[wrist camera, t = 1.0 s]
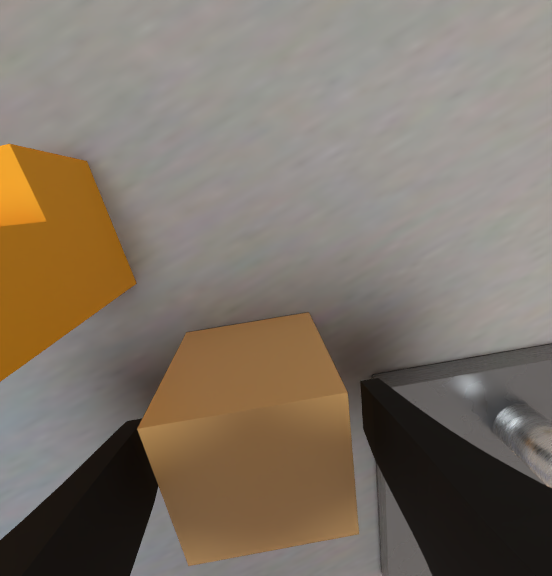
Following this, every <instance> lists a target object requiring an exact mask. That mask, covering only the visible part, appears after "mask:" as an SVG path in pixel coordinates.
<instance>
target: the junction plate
mask: <svg viewBox="0 0 552 576" xmlns="http://www.w3.org/2000/svg"><path fill="white" fill-rule="evenodd" d="M372 378H373V379H375V378H379V379H380V380H382V381H383V382H384V383H386V384H387V385H388V386H390V387H391V388H392V389H394V390H395V391H396V392H398V393H399V394H400V395H402V396H403V397H404V398H406V399H407V400H408V401H410V402H411V403H412V404H414V405H415V406H416V407H418V408H419V409H421V410H422V411H423V412H425V413H426V414H428V415H429V416H430V417H432V418H433V419H435V420H436V421H438V422H439V423H440V424H442V425H443V426H445V427H446V428H448V429H449V430H451V431H452V432H454V433H456V434H457V435H459V436H460V437H462V438H463V439H465V440H467V441H468V442H470V443H471V444H473V445H475V446H476V447H478V448H479V449H481V450H483V451H484V452H486V453H488V454H490V455H491V456H493V457H495V458H497V459H498V460H500V461H502V462H504V463H505V464H507V465H509V466H511V467H513V468H514V469H516V470H518V471H520V472H522V473H523V474H525V475H527V476H529V477H531V478H533V479H535V480H537V481H539V482H540V483H542V484H544V485H546V486H548V487H550V488H552V344H549V345H543V346H537V347H531V348H525V349H520V350H514V351H508V352H502V353H496V354H491V355H485V356H479V357H473V358H467V359H462V360H456V361H450V362H444V363H438V364H433V365H427V366H421V367H415V368H409V369H403V370H398V371H392V372H386V373H380V374H374V375H372ZM377 485H378V506H379V527H380V548H381V570H382V575H383V576H432V574H431V572H430V570H429V567H428V565H427V563H426V560H425V558H424V556H423V554H422V552H421V550H420V548H419V545H418V543H417V541H416V539H415V537H414V535H413V533H412V531H411V529H410V527H409V526H408V524H407V522H406V520H405V518H404V516H403V514H402V512H401V510H400V508H399V506H398V504H397V502H396V500H395V498H394V496H393V494H392V492H391V490H390V488H389V486H388V485H387V483H386V481H385V479H384V477H383V475H382V473H381V471H380V469H379V467H378V465H377Z"/></svg>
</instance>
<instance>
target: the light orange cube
mask: <svg viewBox="0 0 552 576" xmlns="http://www.w3.org/2000/svg"><path fill="white" fill-rule="evenodd" d="M137 430H138V433H139V435H140V438H141V441H142V443H143V446H144V449H145V451H146V454H147V457H148V459H149V462H150V465H151V467H152V470H153V472H154V475H155V478H156V480H157V483H158V486H159V488H160V491H161V494H162V496H163V499H164V502H165V504H166V507H167V510H168V512H169V515H170V518H171V520H172V523H173V526H174V528H175V531H176V534H177V536H178V539H179V542H180V544H181V547H182V550H183V552H184V555H185V558H186V560H187V563H188V566H191V565H197V564H202V563H207V562H213V561H218V560H223V559H229V558H234V557H239V556H245V555H250V554H256V553H261V552H266V551H272V550H277V549H282V548H288V547H293V546H298V545H304V544H309V543H314V542H320V541H325V540H330V539H336V538H341V537H346V536H352V535H357V534H359V527H358V515H357V502H356V490H355V478H354V465H353V453H352V440H351V428H350V416H349V403H348V392H347V390H346V388H345V386H344V384H343V382H342V380H341V378H340V376H339V374H338V372H337V370H336V367H335V365H334V363H333V361H332V359H331V357H330V355H329V353H328V351H327V349H326V347H325V345H324V343H323V341H322V339H321V337H320V334H319V332H318V330H317V328H316V326H315V324H314V322H313V320H312V318H311V316H310V314H309V312H308V313H302V314H296V315H289V316H283V317H277V318H271V319H265V320H259V321H253V322H247V323H241V324H235V325H229V326H223V327H217V328H211V329H205V330H199V331H193V332H187V333H186V334H185V336H184V338H183V340H182V342H181V344H180V346H179V348H178V350H177V352H176V354H175V356H174V358H173V360H172V362H171V364H170V366H169V368H168V370H167V372H166V374H165V375H164V377H163V379H162V381H161V383H160V385H159V387H158V389H157V391H156V393H155V395H154V397H153V399H152V401H151V403H150V405H149V407H148V409H147V411H146V413H145V415H144V417H143V419H142V421H141V422H140V424H139V426H138V428H137Z"/></svg>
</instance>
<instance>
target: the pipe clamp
mask: <svg viewBox="0 0 552 576" xmlns="http://www.w3.org/2000/svg"><path fill="white" fill-rule="evenodd" d="M135 284H137V283H136V281H135V278H134V276H133V273H132V271H131V268H130V266H129V264H128V261H127V259H126V256H125V254H124V251H123V249H122V246H121V244H120V241H119V239H118V237H117V234H116V232H115V229H114V227H113V224H112V222H111V219H110V217H109V214H108V212H107V210H106V207H105V205H104V202H103V200H102V197H101V195H100V192H99V190H98V187H97V185H96V183H95V180H94V178H93V175H92V173H91V170H90V168H89V165H88V163H87V161H84V160H79V159H75V158H71V157H66V156H62V155H57V154H53V153H48V152H44V151H39V150H35V149H31V148H26V147H22V146H17V145H13V144H7V145H3V146H0V382H1V381H2V380H3V379H5V378H6V377H8V376H9V375H10V374H12V373H13V372H15V371H16V370H17V369H19V368H20V367H21V366H23V365H24V364H26V363H27V362H28V361H30V360H31V359H33V358H34V357H35V356H37V355H38V354H39V353H41V352H42V351H44V350H45V349H46V348H48V347H49V346H51V345H52V344H53V343H55V342H56V341H57V340H59V339H60V338H62V337H63V336H64V335H66V334H67V333H69V332H70V331H71V330H73V329H74V328H76V327H77V326H78V325H80V324H81V323H82V322H84V321H85V320H87V319H88V318H89V317H91V316H92V315H94V314H95V313H96V312H98V311H99V310H100V309H102V308H103V307H105V306H106V305H107V304H109V303H110V302H112V301H113V300H114V299H116V298H117V297H118V296H120V295H121V294H123V293H124V292H125V291H127V290H128V289H130V288H131V287H132V286H134V285H135Z"/></svg>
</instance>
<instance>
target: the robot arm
mask: <svg viewBox="0 0 552 576" xmlns="http://www.w3.org/2000/svg"><path fill="white" fill-rule="evenodd" d="M360 382H361V398H362V415H363V429H364V432H365V435H366V437H367V440H368V443H369V445H370V448H371V451H372V453H373V456H374V458H375V461H376V463H377V465H378V467H379V469H380V471H381V473H382V475H383V477H384V479H385V481H386V483H387V485H388V486H389V488H390V490H391V492H392V494H393V496H394V498H395V500H396V502H397V504H398V506H399V508H400V510H401V512H402V514H403V516H404V518H405V520H406V522H407V524H408V526H409V527H410V529H411V531H412V533H413V535H414V537H415V539H416V541H417V543H418V545H419V548H420V550H421V552H422V554H423V556H424V558H425V560H426V563H427V565H428V567H429V570H430V572H431V574H432V576H552V488H550V487H548V486H546V485H544V484H542V483H540V482H539V481H537V480H535V479H533V478H531V477H529V476H527V475H525V474H523V473H522V472H520V471H518V470H516V469H514V468H513V467H511V466H509V465H507V464H505V463H504V462H502V461H500V460H498V459H497V458H495V457H493V456H491V455H490V454H488V453H486V452H484V451H483V450H481V449H479V448H478V447H476V446H475V445H473V444H471V443H470V442H468V441H467V440H465V439H463V438H462V437H460V436H459V435H457V434H456V433H454V432H452V431H451V430H449V429H448V428H446V427H445V426H443V425H442V424H440V423H439V422H438V421H436V420H435V419H433V418H432V417H430V416H429V415H428V414H426V413H425V412H423V411H422V410H421V409H419V408H418V407H416V406H415V405H414V404H412V403H411V402H410V401H408V400H407V399H406V398H404V397H403V396H402V395H400V394H399V393H398V392H396V391H395V390H394V389H392V388H391V387H390V386H388V385H387V384H386V383H384V382H383V381H382V380H380V379H379V378H375V379H370V380H364V381H360ZM141 421H142V419H137V420H131V421H127V422H126V423H125V424H124V425H122V426H121V427H120V428H119V429H118V430H117V431H116V432H115V433H114V434H113V435H112V436H111V437H110V438H109V439H108V440H107V441H106V442H105V443H104V444H103V445H102V446H101V447H100V448H99V449H98V450H96V451H95V452H94V453H93V454H92V455H91V456H90V457H89V458H88V459H87V460H86V461H85V462H84V463H83V464H82V465H81V466H80V467H79V468H78V469H77V470H76V471H75V472H74V473H73V474H72V475H71V476H70V477H69V478H68V479H67V480H66V481H65V482H64V483H63V484H62V485H61V486H59V487H58V488H57V489H56V490H55V491H54V492H53V493H52V494H51V495H50V496H49V497H48V498H46V499H45V500H44V501H43V502H42V503H41V504H40V505H39V506H38V507H37V508H36V509H35V510H33V511H32V512H31V513H30V514H29V515H28V516H27V517H26V518H25V519H24V520H23V521H22V522H20V523H19V524H18V525H17V526H16V527H15V528H14V529H12V530H11V531H10V532H9V533H8V534H7V535H6V536H4V537H3V538H2V539H1V540H0V576H130V574H131V571H132V568H133V565H134V562H135V559H136V556H137V553H138V550H139V547H140V544H141V541H142V538H143V535H144V532H145V529H146V526H147V523H148V520H149V517H150V514H151V511H152V508H153V505H154V502H155V498H156V493H157V489H158V483H157V480H156V478H155V475H154V472H153V470H152V467H151V465H150V462H149V459H148V457H147V454H146V451H145V449H144V446H143V443H142V441H141V438H140V435H139V433H138V430H137V428H138V426H139V424H140V422H141Z"/></svg>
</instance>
